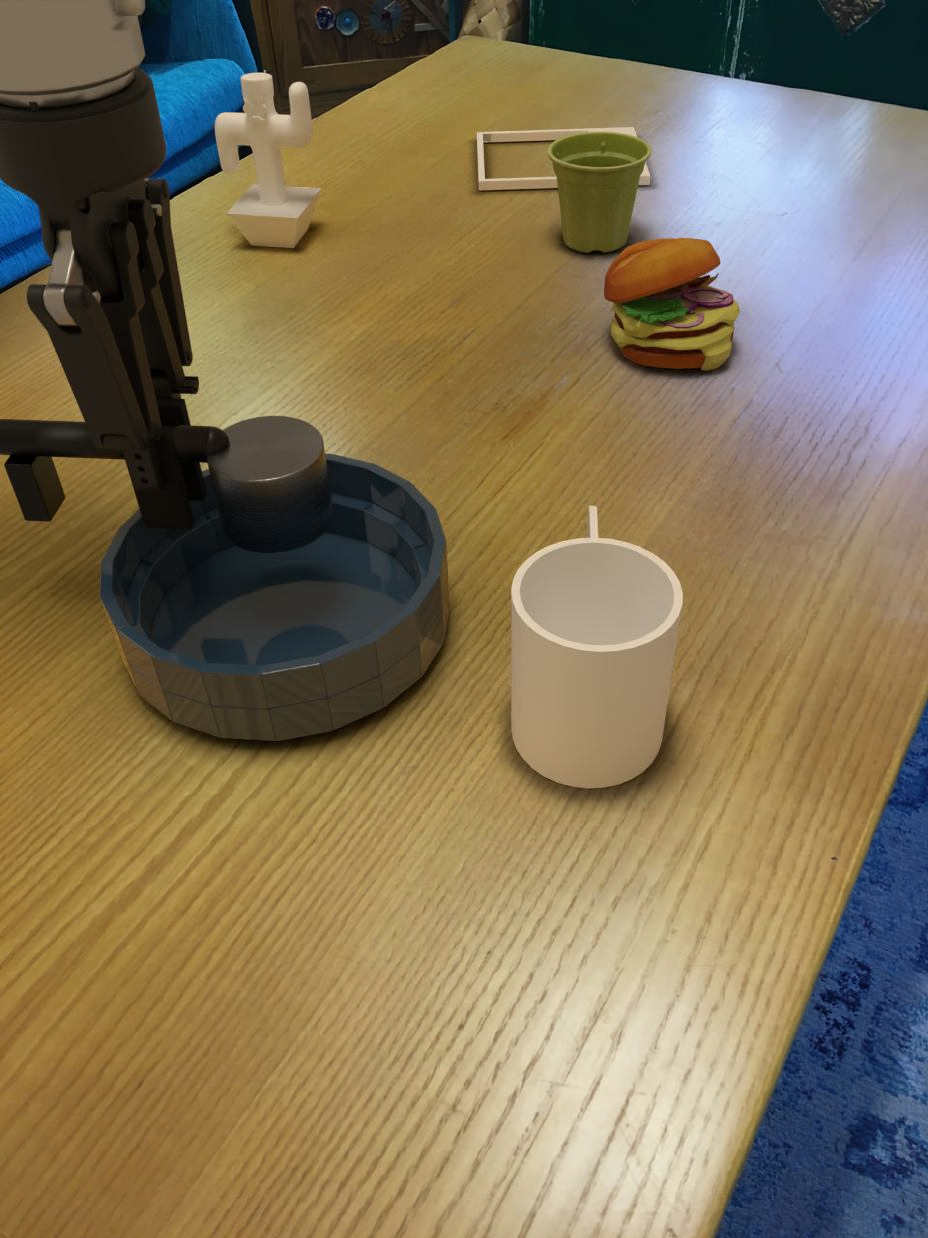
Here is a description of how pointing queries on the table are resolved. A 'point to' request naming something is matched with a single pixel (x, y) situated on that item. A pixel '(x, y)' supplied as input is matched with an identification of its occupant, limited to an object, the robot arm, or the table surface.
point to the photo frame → (535, 136)
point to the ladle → (238, 464)
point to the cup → (592, 658)
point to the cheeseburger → (670, 305)
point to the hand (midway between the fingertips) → (176, 509)
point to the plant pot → (597, 187)
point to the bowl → (282, 612)
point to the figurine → (268, 162)
